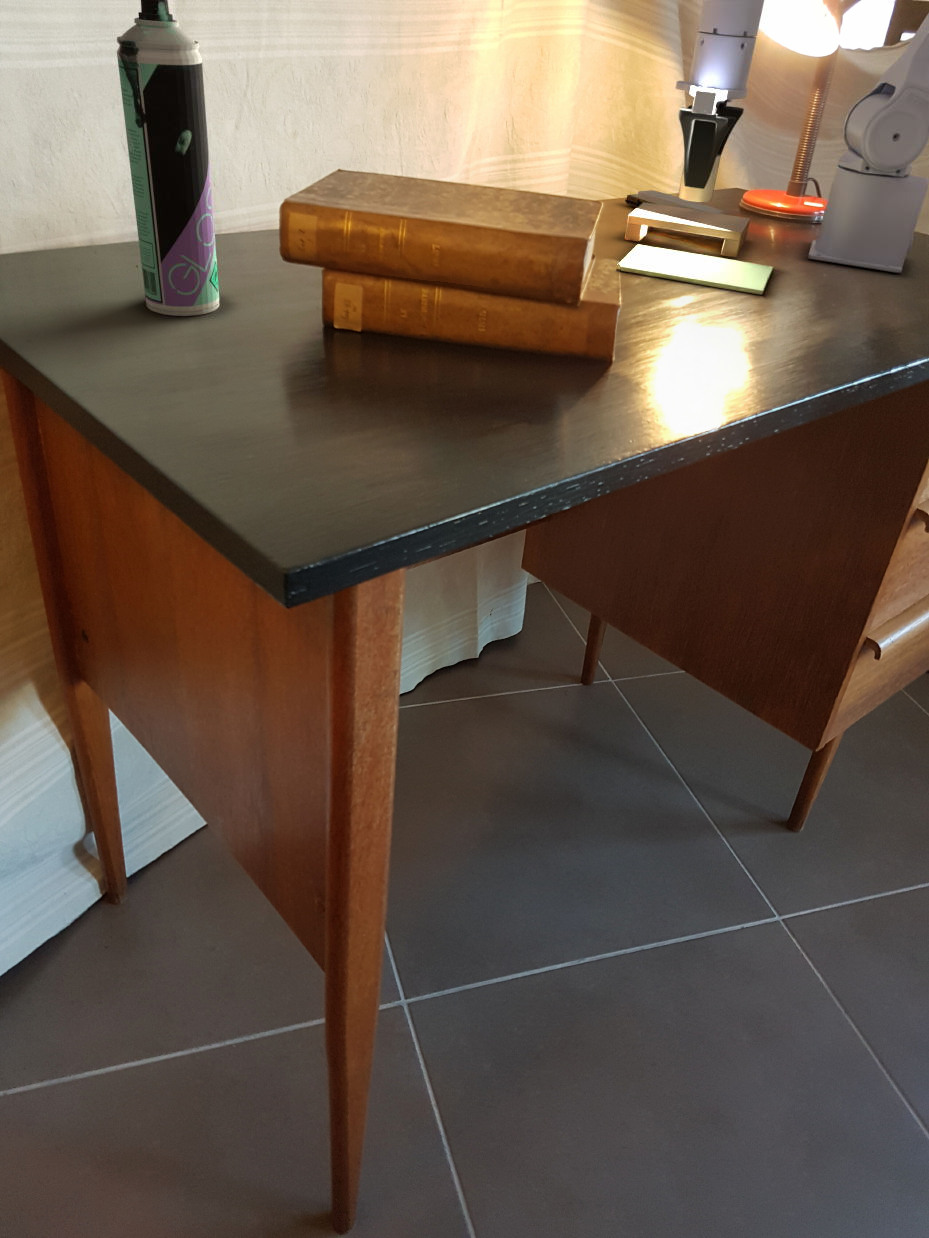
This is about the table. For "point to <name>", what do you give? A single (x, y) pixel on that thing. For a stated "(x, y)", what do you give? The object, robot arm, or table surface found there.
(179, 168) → the spray can
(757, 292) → the mat
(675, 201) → the harmonica
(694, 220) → the small bench
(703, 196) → the spice bottle
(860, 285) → the table surface
